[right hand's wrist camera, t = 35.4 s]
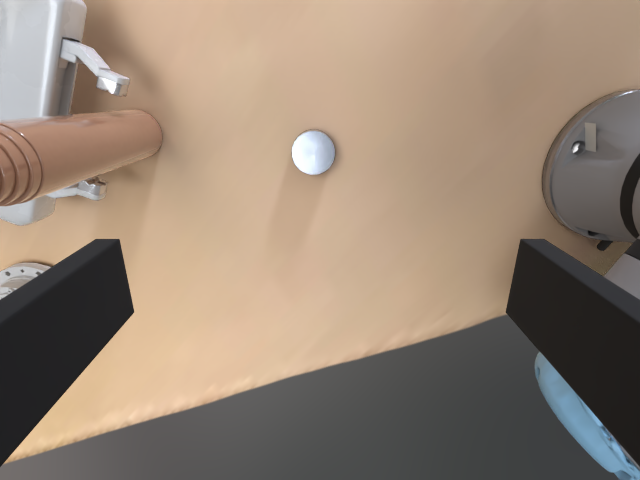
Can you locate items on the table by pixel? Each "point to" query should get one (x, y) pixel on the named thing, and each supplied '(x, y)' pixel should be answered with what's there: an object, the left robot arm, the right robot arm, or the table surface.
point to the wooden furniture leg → (70, 150)
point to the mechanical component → (19, 276)
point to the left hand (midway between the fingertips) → (114, 142)
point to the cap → (313, 152)
